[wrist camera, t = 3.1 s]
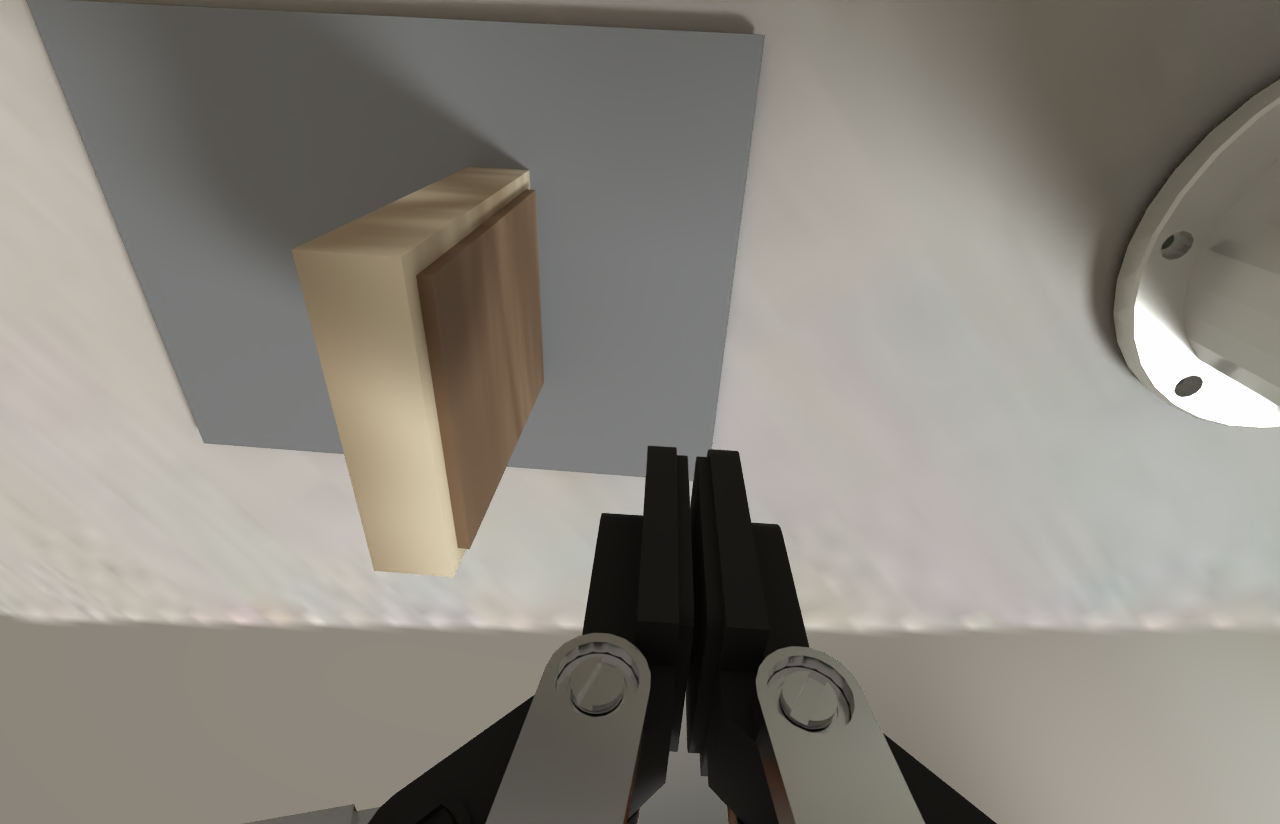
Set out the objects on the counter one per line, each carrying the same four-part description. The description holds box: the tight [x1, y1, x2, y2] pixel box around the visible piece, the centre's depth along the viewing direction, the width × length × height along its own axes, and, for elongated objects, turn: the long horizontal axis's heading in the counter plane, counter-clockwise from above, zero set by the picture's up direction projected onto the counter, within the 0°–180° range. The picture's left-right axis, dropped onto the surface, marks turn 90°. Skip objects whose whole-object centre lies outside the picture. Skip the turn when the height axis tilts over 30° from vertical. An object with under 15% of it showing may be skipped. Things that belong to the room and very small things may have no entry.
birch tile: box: [292, 167, 544, 577], centre depth 17 cm, size 2×8×10 cm, turn 177°
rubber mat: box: [26, 0, 765, 481], centre depth 21 cm, size 22×16×1 cm
